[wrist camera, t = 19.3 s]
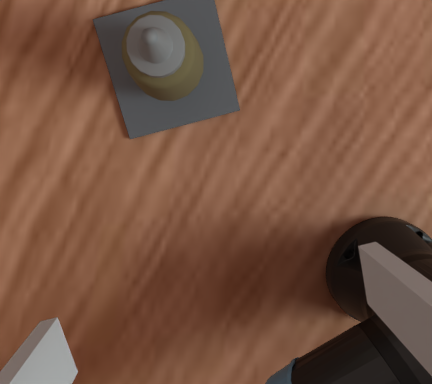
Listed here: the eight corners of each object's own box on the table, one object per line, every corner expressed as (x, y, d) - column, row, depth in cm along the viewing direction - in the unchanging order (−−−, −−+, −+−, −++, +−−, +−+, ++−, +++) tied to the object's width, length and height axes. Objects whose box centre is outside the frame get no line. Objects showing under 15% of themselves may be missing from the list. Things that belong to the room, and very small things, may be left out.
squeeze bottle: (129, 93, 42) (82, 83, 25) (141, 22, 41) (99, -43, 23) (196, 108, 43) (194, 108, 26) (210, 39, 42) (219, -12, 24)
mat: (211, -11, 41) (211, -13, 40) (239, 110, 44) (239, 110, 44) (94, 20, 41) (92, 19, 40) (131, 138, 44) (130, 139, 44)
